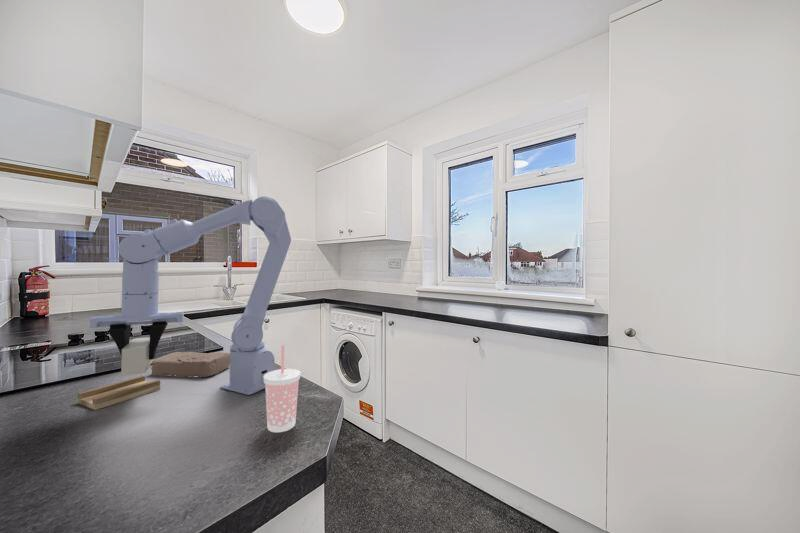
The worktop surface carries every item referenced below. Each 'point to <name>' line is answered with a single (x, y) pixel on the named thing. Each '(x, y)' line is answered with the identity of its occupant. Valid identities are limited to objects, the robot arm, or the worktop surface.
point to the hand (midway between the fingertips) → (139, 359)
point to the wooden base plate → (117, 392)
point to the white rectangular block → (136, 357)
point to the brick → (191, 364)
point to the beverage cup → (281, 397)
